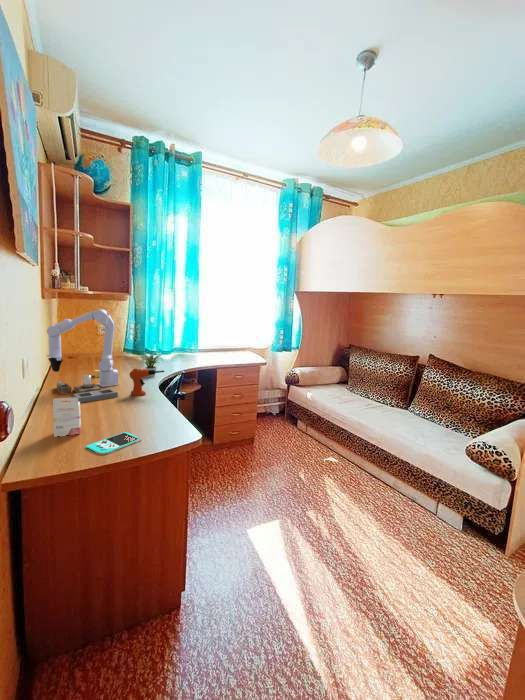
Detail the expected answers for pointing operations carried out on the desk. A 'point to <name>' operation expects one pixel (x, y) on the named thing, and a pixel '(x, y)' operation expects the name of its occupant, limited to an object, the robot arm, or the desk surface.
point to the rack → (96, 395)
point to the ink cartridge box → (66, 417)
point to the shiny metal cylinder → (87, 381)
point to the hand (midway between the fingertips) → (55, 370)
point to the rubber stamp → (97, 372)
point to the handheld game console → (111, 443)
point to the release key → (61, 383)
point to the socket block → (80, 389)
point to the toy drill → (140, 380)
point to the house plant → (150, 363)
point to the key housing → (64, 389)
